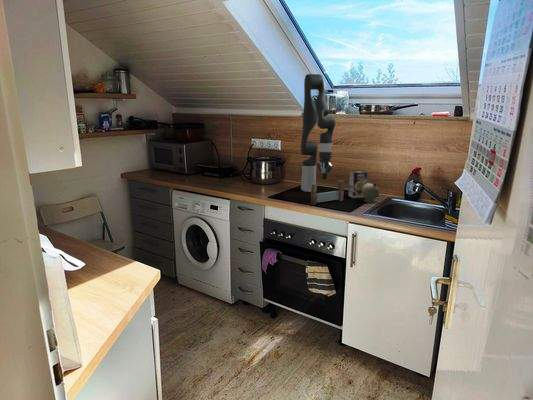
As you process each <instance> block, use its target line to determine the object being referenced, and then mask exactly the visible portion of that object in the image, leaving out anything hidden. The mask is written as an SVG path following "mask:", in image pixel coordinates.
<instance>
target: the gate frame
mask: <svg viewBox="0 0 533 400" xmlns="http://www.w3.org/2000/svg"><path fill="white" fill-rule="evenodd" d="M317 185H318V184H317V183H316V184H312V186H311V192H310V205H312V206H315V205H316V206H317V202H316V194H317V187H318V186H317ZM337 191H339V197H338V200H337V201H340V202H342V201H344V193H345V192H344V191H345V181H344V180H338V185H337Z"/></svg>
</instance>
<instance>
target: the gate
mask: <svg viewBox="0 0 533 400" xmlns="http://www.w3.org/2000/svg"><path fill="white" fill-rule="evenodd" d="M338 197H339V191H338V190H333V191H326V192H319V193H316V204H317V203H323V202H330V201H335V200H336V201H339V200H338Z"/></svg>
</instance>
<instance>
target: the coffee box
mask: <svg viewBox="0 0 533 400" xmlns="http://www.w3.org/2000/svg"><path fill="white" fill-rule="evenodd" d="M367 181H368V172H367V171H363V170H359V171H358V170H356V171H355V170H354V171H351V170H350V171H349V183H348V185H349V186H348V195H347V196H348V197H350V198H352V199H360V198H361V199H362V198H365V197H364V196H363V194H362V187H363V186H364V185H365V182H366V183H368V182H367Z"/></svg>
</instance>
